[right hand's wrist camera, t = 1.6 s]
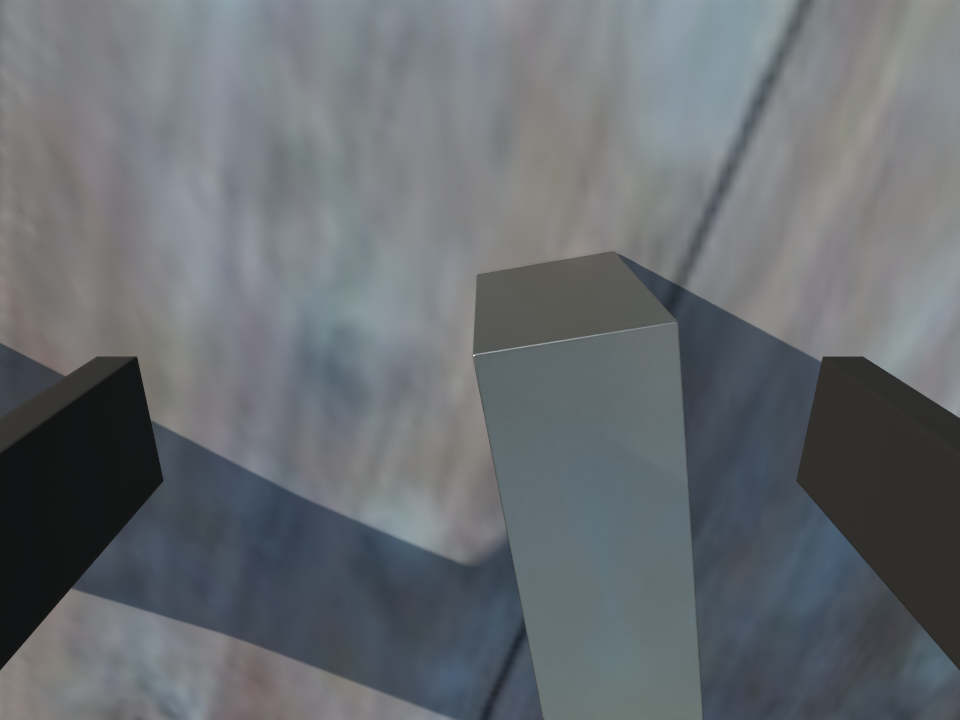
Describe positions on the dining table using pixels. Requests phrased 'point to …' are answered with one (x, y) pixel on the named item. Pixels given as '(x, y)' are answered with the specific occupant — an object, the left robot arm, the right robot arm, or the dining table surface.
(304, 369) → the dining table surface
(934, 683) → the dining table surface
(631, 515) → the box
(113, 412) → the right robot arm
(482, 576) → the dining table surface
